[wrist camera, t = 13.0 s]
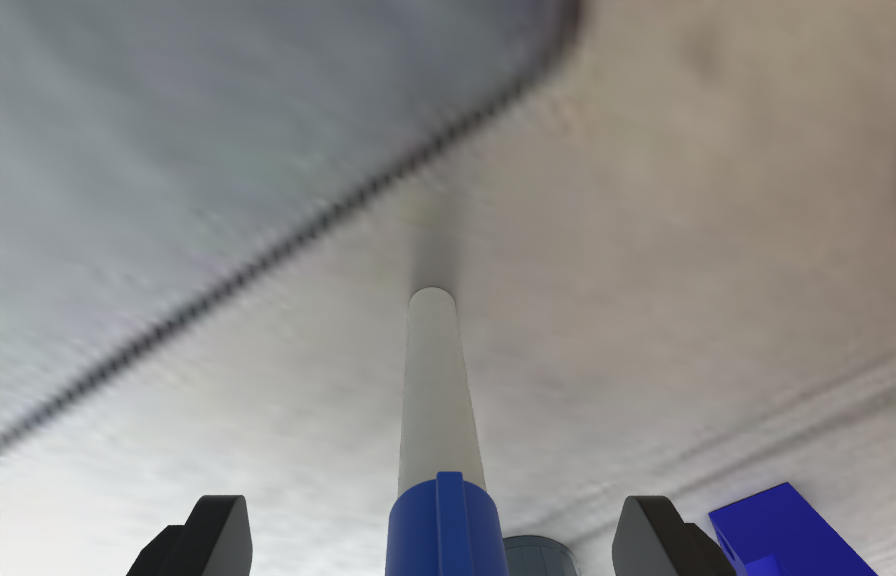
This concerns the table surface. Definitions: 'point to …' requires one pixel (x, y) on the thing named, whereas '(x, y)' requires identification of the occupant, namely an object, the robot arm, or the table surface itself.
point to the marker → (440, 458)
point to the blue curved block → (783, 538)
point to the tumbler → (539, 557)
